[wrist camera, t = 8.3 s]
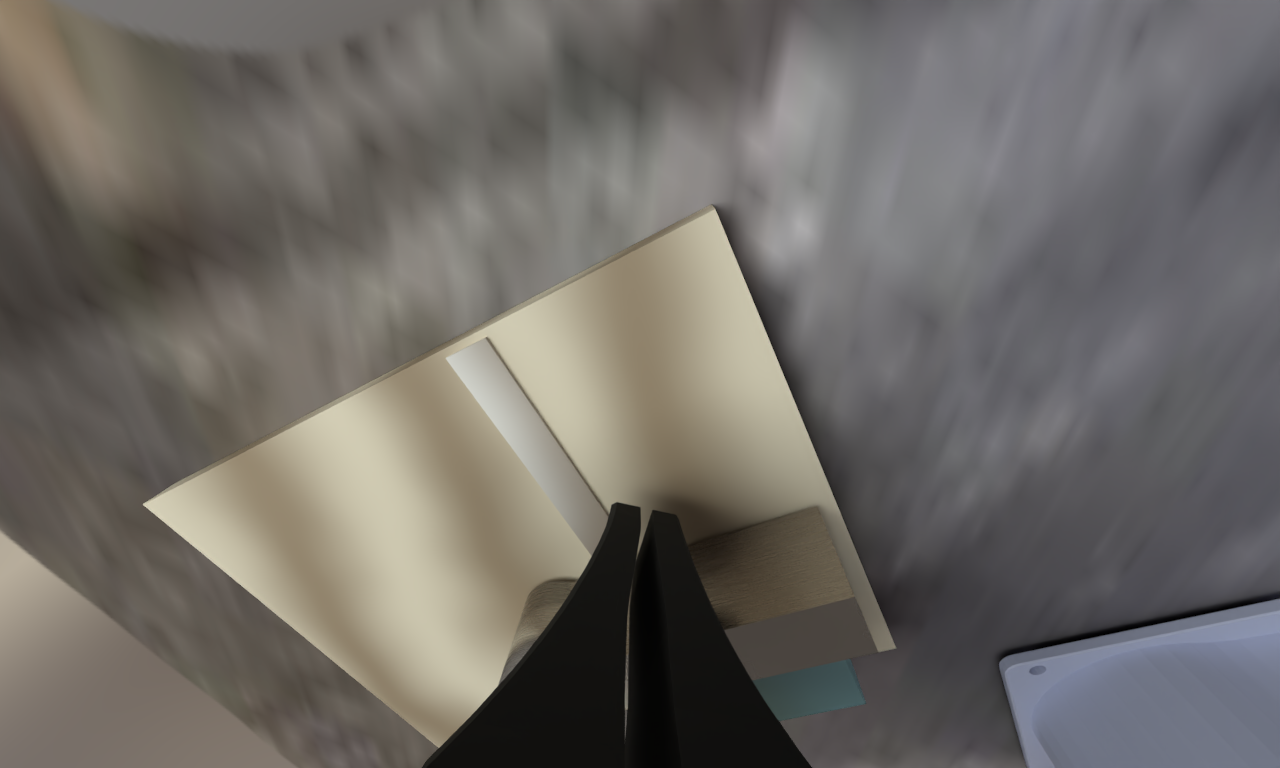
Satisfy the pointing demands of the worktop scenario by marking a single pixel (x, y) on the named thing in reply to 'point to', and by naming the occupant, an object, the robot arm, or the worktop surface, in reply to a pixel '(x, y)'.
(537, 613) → the swing bar
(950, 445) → the worktop surface
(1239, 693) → the robot arm
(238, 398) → the worktop surface
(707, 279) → the board
